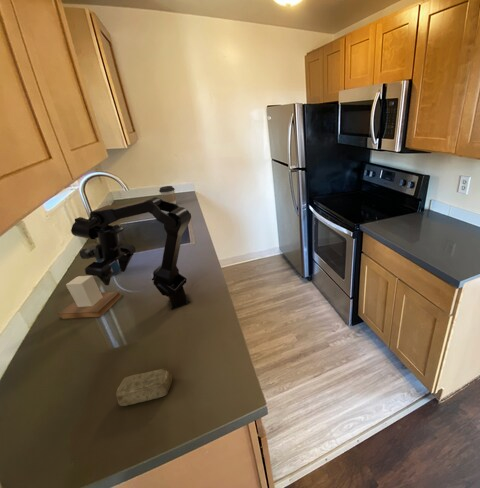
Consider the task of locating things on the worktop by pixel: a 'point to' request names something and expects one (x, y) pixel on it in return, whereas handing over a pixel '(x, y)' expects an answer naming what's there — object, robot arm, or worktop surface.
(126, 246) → the robot arm
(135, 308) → the worktop surface
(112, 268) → the soda can
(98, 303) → the wooden base plate
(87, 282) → the cream box
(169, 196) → the coffee cup
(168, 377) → the stone block
